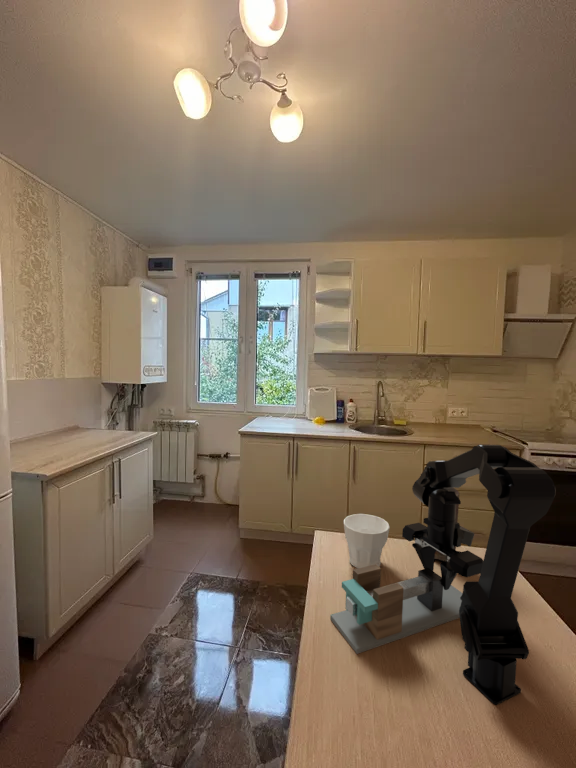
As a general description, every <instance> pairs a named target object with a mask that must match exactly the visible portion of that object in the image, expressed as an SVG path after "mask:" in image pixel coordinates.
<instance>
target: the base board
mask: <svg viewBox="0 0 576 768" xmlns="http://www.w3.org/2000/svg"><path fill="white" fill-rule="evenodd" d="M462 594H463V591H461V590H459V588H456V587H455V586H454V585H452V584H451V586H450V588H449V589H448V590H444V587H443V597H442V608H441V609H438V610H435V611H430V610H429V609H428V608H427V607H426V606H425V605H423V604H422V603H421V602H420V601H419V600H417V596H415V597H412V598H409V599H406V600H403V610H402V632H399V633H396V634H393V635H390V636H388V637H385V638H382V639H379V640H377V639H376V638H375V637H374V636H373V635H372V634H371V632H370V631H369V630H368V629H367V628H366V626H365V625H364V624H360V625H359V624H358V623H357V616H356V615H354V616H352V615H351V614H350V612H349V611H347V610H346V609H345V610H342V611H339V612H335V613H331V614H330V616H329V617H330V621H331V622H332V624H333V625H334V626H335V628H336V629H337V630H338V631H339V632H340V634H341V636H342V637H343V638H344V640H346V642H347V643H348V644H349V646H350V647H351V648H352V650H353V651H354V653H355V654H356V655H358V654H362V653H363V652H367V651H369V650H373V649H375V648H378V647H381V646H384V645H387V644H389V643H392V642H394V641H398V640H401V639H404V638H407V637H409V636H412V635H415V634H418V633H421V632H425V631H427V630H429V629H432V628H434V627H437V626H440V625H443V624H446V623H448V622H449V623H450V622H451V621H454V620H458V619H460V615H459V609H460V606H461V602H462V600H461V599H460V597H461V596H462Z"/></svg>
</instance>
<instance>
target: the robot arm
mask: <svg viewBox="0 0 576 768" xmlns="http://www.w3.org/2000/svg"><path fill="white" fill-rule="evenodd" d="M477 475H479V476H478V481H479V482H480V483H481V485H482V486H483V487H484V488H485V489H486V490H487V495H486V496H487V497H486V498H487V499H488V501H489V504H490V506H491V507H492V509H493V512H494V514H493V519H492V523H491V527H490V532H489V537H488V539H487V544H486V548H485V554H484V557H483V558H482V557H480V556H478V555H477V554H475V553H473V552H471V551H470V550H469V549H468V550H465V551H458V550H454V549H453V548H454V547H455V546H456V548H460V547H462V544H463V545H466V546H467V547H472V542H473V540H474V536H475V532H473V531H471V530H470V529H467V528H465V527H464V526H461V524H460V522H459V521H458V522H456V521H455V518H456V504H459V505H461V504H462V503H461V499H460V497H459V498H458V497H457V496H456V494H455V492H454V491H448V490H446V489H444V488H455V489H456V488H458V489H459V488H460V487H462V486H463V485H465V484H466V483H467V478H470V477H473V476H477ZM412 493H413V495H414V496H415V497H416V498H417V499H418V500H419V501H420V502H421V503H422V504H423V505H424V506H425V507H427V508H428V509H427V517H424V518H423V523H421V522H416V523H409V524H406V525H404V526H403V528H402V533H401V534H402V538H403V539H405V540H406V541H408V542H412V541H414V542H413V543H412V544H411V546H412V547H413V548H414V550H415V552H416V554H417V556H418V558H419V560H420V562H421V565H422V567H423V569H426V568H429V569H431V570H432V571H433V572H434V566H435V558H434V557H435V552H436V550H437V551H439V552H440V553H442V554H444V555H446V556H448V557H447V561H446V562H445V561H441V562H440V563H439V567H440V568H439V569H440V573H441V577H442V583H443V587H444V590H448V589H449V588H450V586H451V585H452V584H453V582H454V580H455V578H456V576H457V574H458V575H460V576H461V577H464V578H470V577H473V576H476V575H479V577H478V578H479V579H478V581H476V580H475V581H468V580H467V581H465V582H464V584H463V588H462V593H463V594H462V596H461V597H460V599H461V600H462V602H461V606H460V609H459V615H460V618H459V622H460V623H459V624H460V632H461V638H462V640H463V642H464V649H465V651H466V652H468V655H467V666H468V668H465V669H463V670H462V675H463V676H464V677H465V678H466V679H467V680H468V681H469V682H470V683H471V684H472V685H473V686H474V687H475V688H476V689H477V690H478V691H479V692H481V694H482V695H484V696H485V697H486V698H487V700H489V701H490V702H491V703H492V704H493V705H495V706H496V705H497V706H498V705H500V704H501V703H504V702H506V701H507V700H509V699H511V698H514V697H515V696H518V695H519V694H521V692H522V689H521V687H520V686H519V685H518V684H517V683H516V676H517V675H516V674H517V660H519V659H520V660H527V658H528V656H529V654H530V650H529V647H528V645H527V641H526V639H525V636H524V634H523V631H522V628H521V626H520V624H519V620H518V619H519V612H518V610H517V608H516V605H515V603H514V601H513V599H512V596H513V592H514V588H515V584H516V580H517V576H518V574H519V570H520V565H521V562H522V558H523V555H524V552H525V548H526V545H527V544H526V543H527V540H528V536H529V532H530V529H531V527H532V526H533V525H535V524H536V523H537V522H538V521H539V520H541V519H542V518H543V517H545V516H546V515H547V514H548V512H549V510H550V508H551V505H552V504H553V502H554V500H555V496H556V485H555V483H554V479H552V477H551V476H550V475H549V474H548V473H547V472H546V471H545V470H544V469H542V468H540V467H538V465H536V464H535V463H534V462H532V461H530V460H528V459H526V458H524V457H521V456H520V455H517V454H515V453H513V452H511V451H510V450H509V449H508V448H507V447H506V446H502V445H500V444H477V445H474V446H473V447H472V448H471V449H469V450H467V451H465V452H463V453H461V454H459V455H456V456H454V457H453V458H450V459H448V460H432V461H431V460H430V461H428V462H427V463H426V465H425V467H424V468H423V470H422V473H420V476H419V477H418V478H417V479H416V480H415V481H414V483H413V485H412ZM424 524H425V525H424Z"/></svg>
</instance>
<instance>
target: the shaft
mask: <svg viewBox="0 0 576 768" xmlns="http://www.w3.org/2000/svg"><path fill="white" fill-rule="evenodd" d="M417 571H418V572H417V576H415V577H413V578H409V579H405V580H402V581H398V582H396V583H398V584H400V585H401V586H402V587H403V600H406V599H409V598H412V597H415V596H417V600H419V601H420V602H421V603H422V604H423V605H425V606H426V607H427V608H428V609H429V610H430V611H435V610H438V609H441V608H442V597H443V583H442V576H440V575H439V574H438V573H436V572H435V571H434V570H433V571H432V570H431V569H429V568H426V569H424V568H423V569H420V570H417ZM391 584H392V583H391ZM391 584H389V585H391ZM382 587H384V586H382ZM366 592H367V593H368V594H369V595H370V596H371V597H372V598H373V590H369V591H366ZM345 607H346V609H347V610H348V611H349V612H350V614H351V615H352V616H354V615H357V604H356V603H355V601H354V600H353V599H352V598H351V597H350V596H348V597H346V596H345ZM346 609H345V610H346Z"/></svg>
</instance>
